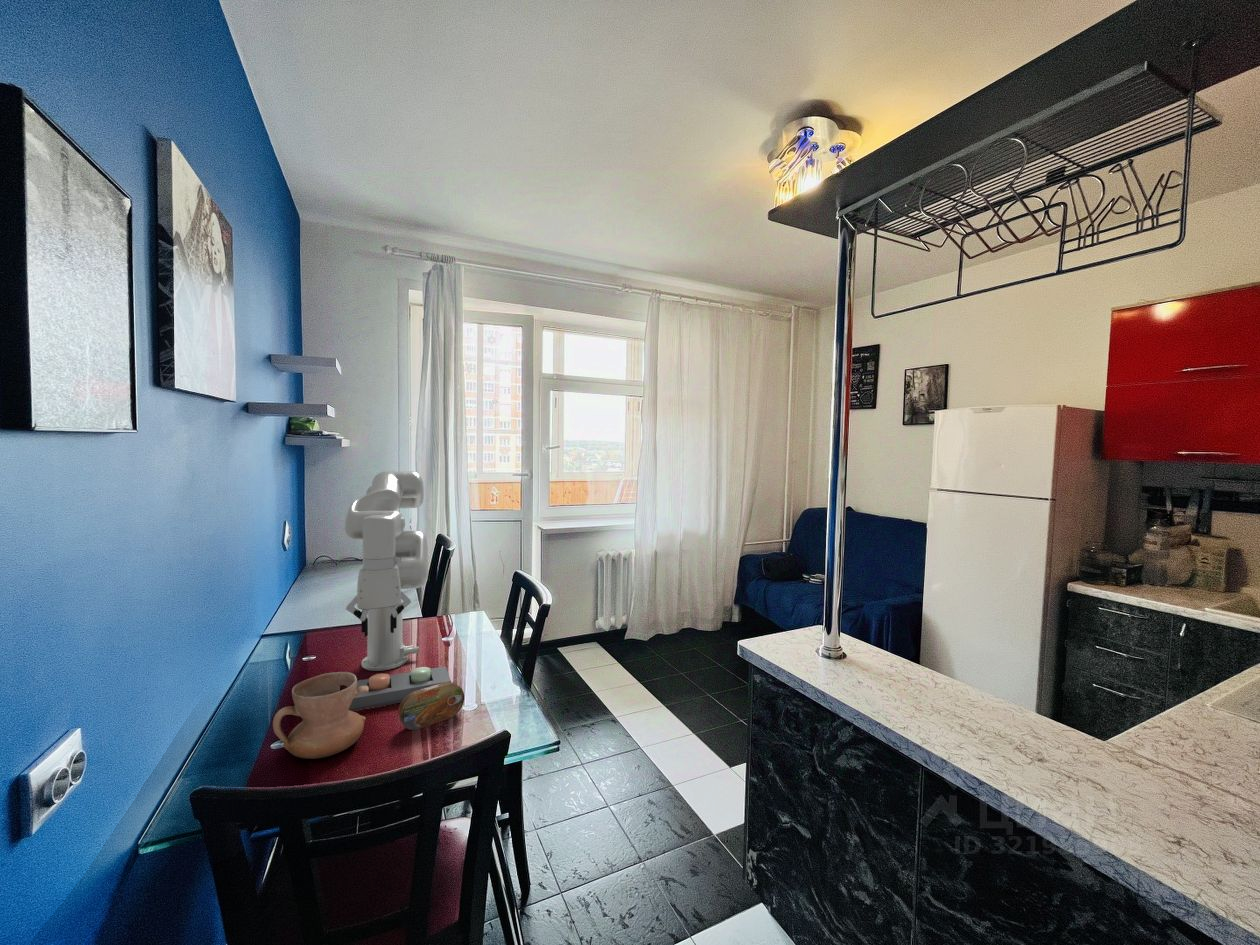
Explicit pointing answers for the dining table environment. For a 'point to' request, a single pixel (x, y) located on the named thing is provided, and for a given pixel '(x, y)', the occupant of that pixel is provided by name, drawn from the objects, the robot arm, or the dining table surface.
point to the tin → (430, 705)
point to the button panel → (396, 689)
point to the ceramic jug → (322, 716)
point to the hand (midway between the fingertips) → (379, 632)
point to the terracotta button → (379, 682)
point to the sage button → (420, 675)
